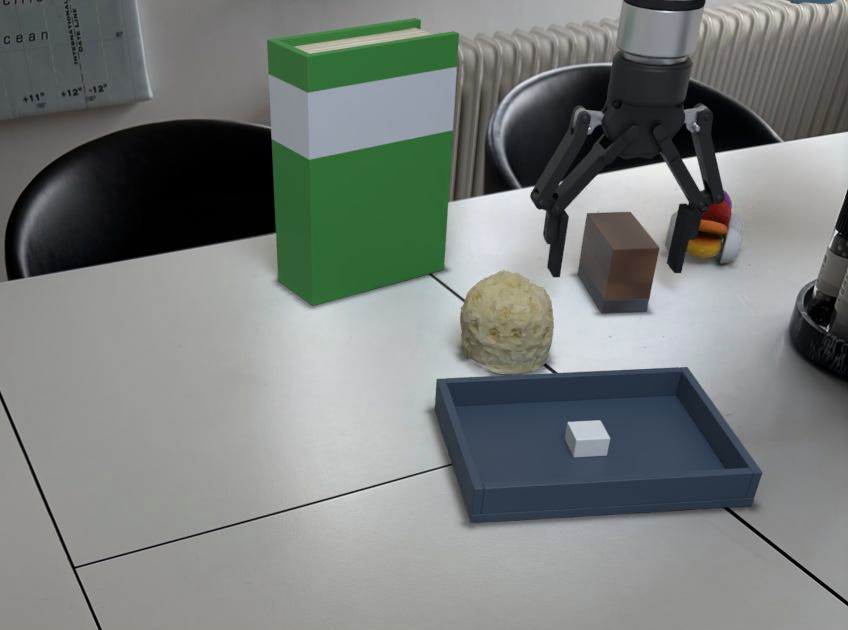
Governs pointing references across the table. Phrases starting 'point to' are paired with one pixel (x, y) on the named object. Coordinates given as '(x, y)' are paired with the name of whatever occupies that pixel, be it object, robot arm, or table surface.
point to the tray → (600, 475)
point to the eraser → (617, 262)
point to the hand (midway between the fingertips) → (613, 270)
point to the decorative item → (507, 324)
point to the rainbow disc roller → (714, 233)
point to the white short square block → (587, 438)
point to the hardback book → (361, 155)
